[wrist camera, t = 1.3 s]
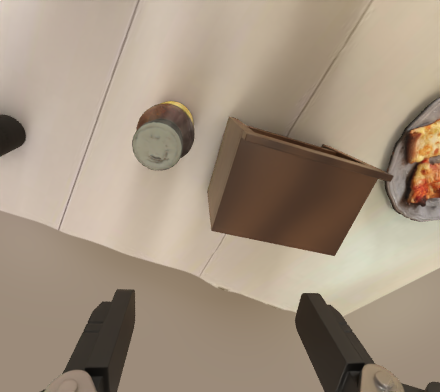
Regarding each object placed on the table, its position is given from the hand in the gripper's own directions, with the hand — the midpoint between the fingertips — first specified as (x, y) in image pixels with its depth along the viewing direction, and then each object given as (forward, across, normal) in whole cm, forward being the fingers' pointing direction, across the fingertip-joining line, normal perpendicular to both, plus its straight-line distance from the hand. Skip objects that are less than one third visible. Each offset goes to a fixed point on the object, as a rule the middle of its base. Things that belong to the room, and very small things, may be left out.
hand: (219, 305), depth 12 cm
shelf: (+32, -12, 0) cm, 34 cm away
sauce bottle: (+31, +5, -6) cm, 32 cm away
